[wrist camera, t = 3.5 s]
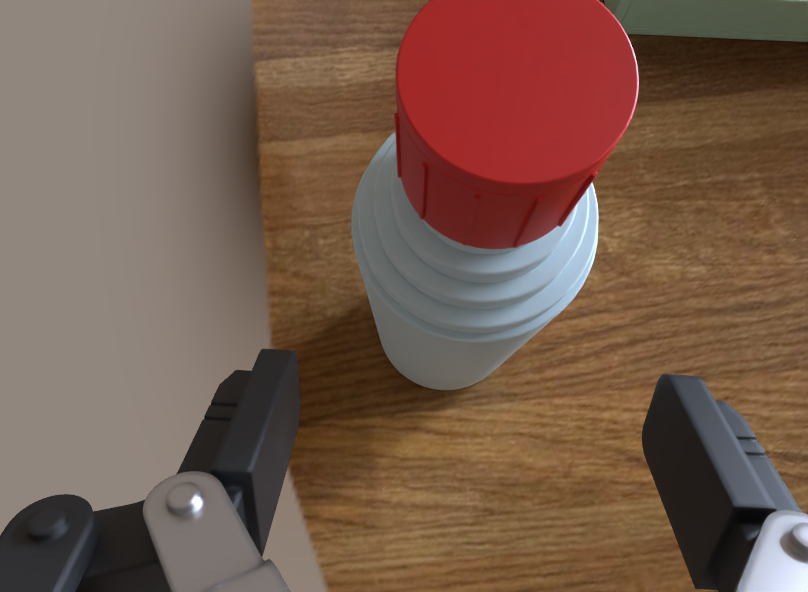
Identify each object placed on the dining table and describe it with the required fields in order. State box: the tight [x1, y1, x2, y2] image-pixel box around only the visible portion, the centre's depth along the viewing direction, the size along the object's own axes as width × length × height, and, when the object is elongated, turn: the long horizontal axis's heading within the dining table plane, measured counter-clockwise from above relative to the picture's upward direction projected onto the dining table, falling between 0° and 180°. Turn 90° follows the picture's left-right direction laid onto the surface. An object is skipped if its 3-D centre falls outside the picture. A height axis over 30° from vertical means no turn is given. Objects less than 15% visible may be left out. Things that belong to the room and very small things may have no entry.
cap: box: [395, 0, 639, 249], centre depth 11 cm, size 4×4×3 cm
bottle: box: [351, 132, 598, 390], centre depth 20 cm, size 6×6×20 cm
